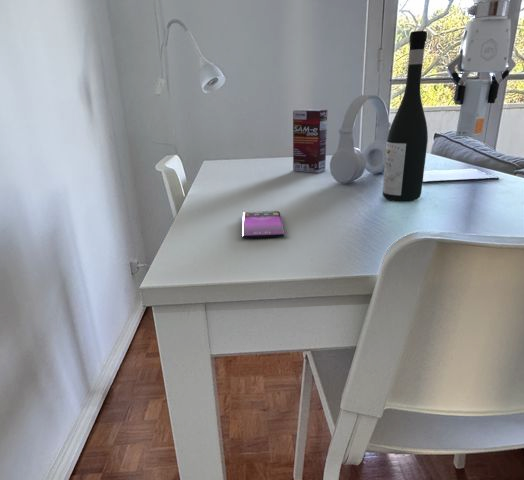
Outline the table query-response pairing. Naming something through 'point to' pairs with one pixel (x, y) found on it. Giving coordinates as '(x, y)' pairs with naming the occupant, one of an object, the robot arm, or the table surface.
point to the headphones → (352, 159)
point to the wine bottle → (408, 133)
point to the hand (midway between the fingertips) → (474, 103)
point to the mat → (456, 176)
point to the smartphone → (262, 224)
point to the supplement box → (309, 140)
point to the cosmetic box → (473, 108)
